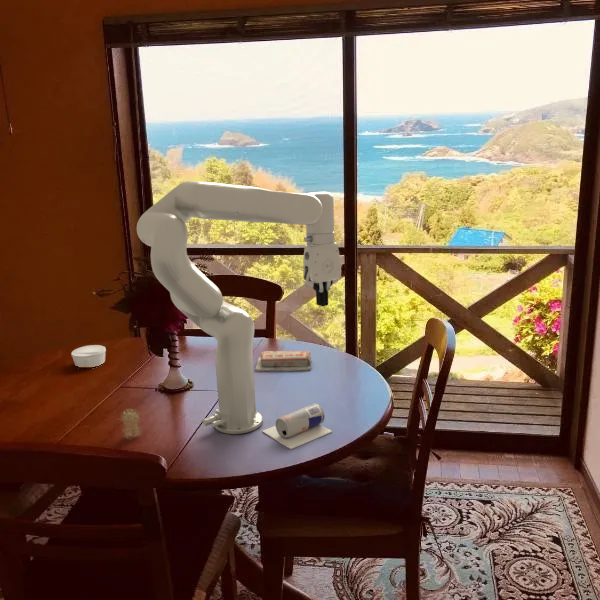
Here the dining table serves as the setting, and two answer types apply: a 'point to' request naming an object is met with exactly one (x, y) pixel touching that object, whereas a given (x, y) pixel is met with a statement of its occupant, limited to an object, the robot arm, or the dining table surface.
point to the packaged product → (284, 361)
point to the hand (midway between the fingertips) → (322, 304)
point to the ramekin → (89, 356)
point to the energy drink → (299, 420)
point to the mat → (298, 436)
